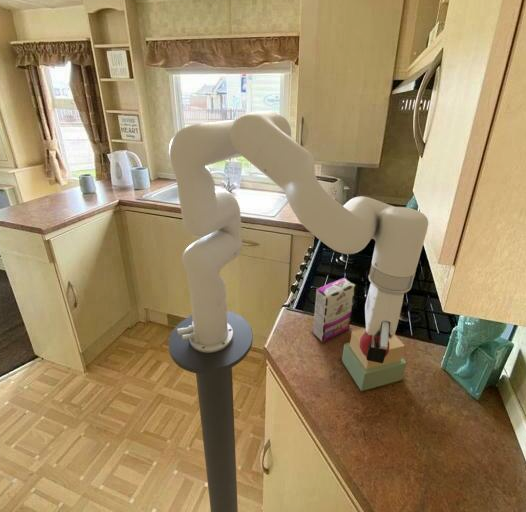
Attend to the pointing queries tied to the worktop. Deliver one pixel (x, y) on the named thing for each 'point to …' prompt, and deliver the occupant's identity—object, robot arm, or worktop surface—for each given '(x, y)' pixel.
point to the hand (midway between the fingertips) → (373, 347)
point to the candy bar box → (333, 309)
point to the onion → (365, 343)
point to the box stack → (373, 363)
